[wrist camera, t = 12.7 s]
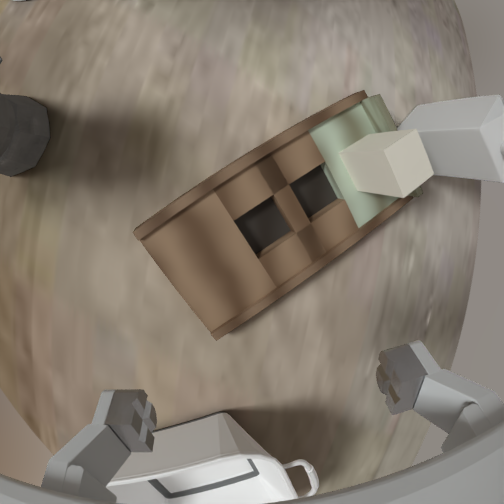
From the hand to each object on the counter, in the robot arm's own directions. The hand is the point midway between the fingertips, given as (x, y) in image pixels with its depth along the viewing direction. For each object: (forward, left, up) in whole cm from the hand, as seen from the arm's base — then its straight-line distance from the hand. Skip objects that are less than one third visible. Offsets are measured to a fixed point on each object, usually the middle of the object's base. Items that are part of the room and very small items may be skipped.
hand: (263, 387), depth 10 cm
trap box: (-5, +9, -26) cm, 28 cm away
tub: (+35, +4, -26) cm, 44 cm away
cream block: (-12, +16, -24) cm, 31 cm away
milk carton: (-19, +26, -26) cm, 41 cm away
